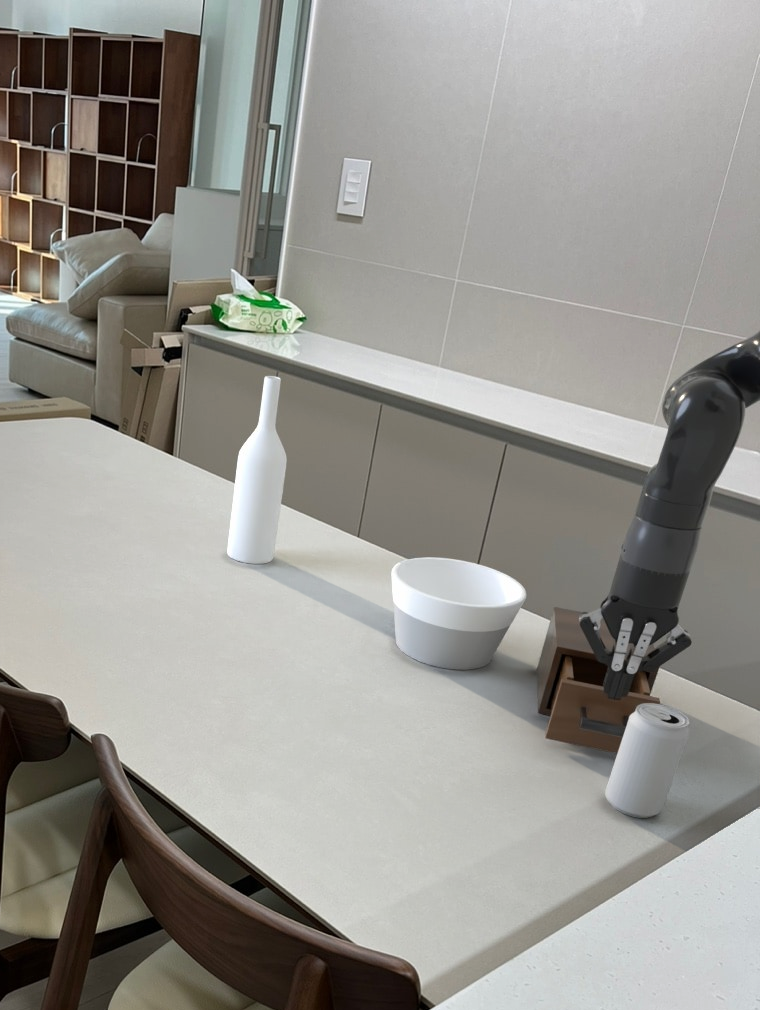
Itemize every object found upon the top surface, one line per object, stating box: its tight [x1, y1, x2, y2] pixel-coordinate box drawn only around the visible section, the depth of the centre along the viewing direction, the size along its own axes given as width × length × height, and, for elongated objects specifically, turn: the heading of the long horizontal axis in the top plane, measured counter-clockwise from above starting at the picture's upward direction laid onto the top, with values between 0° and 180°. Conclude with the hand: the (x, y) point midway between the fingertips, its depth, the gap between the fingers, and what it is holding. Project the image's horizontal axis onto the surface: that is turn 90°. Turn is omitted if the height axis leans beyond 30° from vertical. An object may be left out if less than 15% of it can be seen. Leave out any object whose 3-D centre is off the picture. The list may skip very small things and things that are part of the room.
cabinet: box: [536, 606, 660, 717], centre depth 143 cm, size 15×13×10 cm
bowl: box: [391, 556, 527, 671], centre depth 153 cm, size 19×19×11 cm
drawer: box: [545, 654, 661, 754], centre depth 133 cm, size 18×12×8 cm, turn 165°
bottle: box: [226, 375, 288, 565], centre depth 176 cm, size 8×8×30 cm
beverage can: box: [604, 703, 690, 819], centre depth 119 cm, size 6×6×12 cm
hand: (613, 696), depth 126 cm, fingers closed
